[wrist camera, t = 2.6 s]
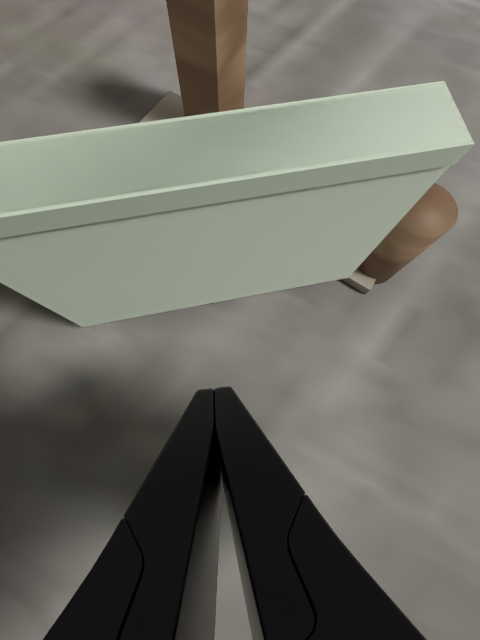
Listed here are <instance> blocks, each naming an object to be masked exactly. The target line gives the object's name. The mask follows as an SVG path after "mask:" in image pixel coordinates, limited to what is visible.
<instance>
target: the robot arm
mask: <svg viewBox="0 0 480 640" xmlns="http://www.w3.org/2000/svg"><path fill="white" fill-rule="evenodd" d="M221 472H222V473H221ZM222 479H223V486H224V492H225V497H226V502H227V507H228V513H229V518H230V523H231V528H232V533H233V539H234V544H235V549H236V554H237V560H238V565H239V570H240V575H241V581H242V586H243V591H244V596H245V602H246V607H247V612H248V617H249V622H250V628H251V633H252V638H253V640H426V638H425V637H424V636H423V635H422V634H421V633H420V632H419V630H418V629H417V628H416V627H415V626H414V625H413V624H412V622H411V621H410V620H409V619H408V618H407V617H406V616H405V614H404V613H403V612H402V611H401V610H400V609H399V608H398V606H397V605H396V604H395V603H394V602H393V601H392V600H391V598H390V597H389V596H388V595H387V594H386V593H385V592H384V590H383V589H382V588H381V587H380V586H379V585H378V584H377V582H376V581H375V580H374V579H373V578H372V577H371V576H370V574H369V573H368V572H367V571H366V570H365V569H364V568H363V566H362V565H361V564H360V563H359V562H358V561H357V559H356V558H355V557H354V556H353V555H352V553H351V552H350V551H349V550H348V549H347V547H346V546H345V545H344V544H343V543H342V541H341V540H340V539H339V538H338V536H337V535H336V534H335V532H334V531H333V530H332V528H331V527H330V526H329V524H328V523H327V522H326V520H325V519H324V518H323V516H322V515H321V514H320V512H319V511H318V510H317V508H316V507H315V505H314V504H313V502H312V501H311V500H310V498H309V497H308V496H307V495H305V491H304V490H303V489H302V487H301V486H300V484H299V483H298V481H297V480H296V479H295V477H294V476H293V474H292V473H291V471H290V470H289V469H288V467H287V466H286V464H285V463H284V461H283V460H282V459H281V457H280V456H279V454H278V453H277V451H276V450H275V449H274V447H273V446H272V444H271V443H270V442H269V440H268V439H267V437H266V436H265V434H264V433H263V432H262V430H261V429H260V427H259V426H258V424H257V423H256V422H255V420H254V419H253V417H252V416H251V414H250V413H249V412H248V410H247V409H246V407H245V406H244V404H243V403H242V402H241V400H240V399H239V397H238V396H237V394H236V393H235V392H234V390H233V389H232V388H231V387H219V388H216V389H215V390H213V389H212V388H210V389H201V390H198V391H197V392H196V393H195V395H194V396H193V398H192V400H191V402H190V403H189V405H188V407H187V408H186V410H185V412H184V414H183V415H182V417H181V419H180V420H179V422H178V424H177V426H176V427H175V429H174V431H173V432H172V434H171V436H170V438H169V439H168V441H167V443H166V444H165V446H164V448H163V449H162V451H161V453H160V455H159V456H158V458H157V460H156V461H155V463H154V465H153V467H152V468H151V470H150V472H149V473H148V475H147V477H146V479H145V480H144V482H143V484H142V485H141V487H140V489H139V491H138V492H137V494H136V496H135V497H134V499H133V501H132V503H131V504H130V506H129V508H128V509H127V511H126V513H125V515H124V518H125V519H122V520H121V521H120V523H119V524H118V526H117V528H116V530H115V531H114V533H113V535H112V537H111V538H110V540H109V542H108V543H107V545H106V546H105V548H104V550H103V551H102V553H101V554H100V556H99V558H98V559H97V561H96V563H95V564H94V566H93V567H92V569H91V571H90V572H89V574H88V575H87V577H86V578H85V580H84V581H83V582H82V584H81V585H80V587H79V588H78V590H77V591H76V593H75V594H74V596H73V597H72V599H71V600H70V602H69V603H68V604H67V606H66V607H65V609H64V610H63V612H62V613H61V614H60V616H59V617H58V619H57V620H56V622H55V623H54V624H53V626H52V627H51V629H50V630H49V631H48V633H47V634H46V636H45V637H44V639H43V640H214V634H215V614H216V594H217V573H218V553H219V532H220V512H221V492H222Z"/></svg>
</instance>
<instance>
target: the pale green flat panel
mask: <svg viewBox="0 0 480 640" xmlns="http://www.w3.org/2000/svg"><path fill="white" fill-rule="evenodd" d="M473 145H474V142H473V140H472V138H471V136H470V134H469V132H468V130H467V127H466V125H465V123H464V121H463V119H462V117H461V115H460V113H459V111H458V109H457V107H456V104H455V102H454V100H453V98H452V96H451V94H450V92H449V90H448V88H447V86H446V83H445V81H440V82H433V83H426V84H418V85H411V86H404V87H397V88H389V89H382V90H375V91H368V92H360V93H353V94H346V95H339V96H331V97H324V98H317V99H310V100H302V101H295V102H288V103H281V104H273V105H266V106H259V107H252V108H244V109H237V110H230V111H223V112H215V113H208V114H201V115H194V116H186V117H179V118H172V119H165V120H157V121H150V122H143V123H136V124H128V125H121V126H114V127H107V128H99V129H92V130H85V131H78V132H70V133H63V134H56V135H49V136H41V137H34V138H27V139H20V140H12V141H5V142H0V283H2V284H4V285H6V286H8V287H9V288H11V289H13V290H15V291H17V292H19V293H21V294H22V295H24V296H26V297H28V298H30V299H32V300H33V301H35V302H37V303H39V304H41V305H43V306H44V307H46V308H48V309H50V310H52V311H54V312H56V313H57V314H59V315H61V316H63V317H65V318H67V319H68V320H70V321H72V322H74V323H76V324H78V325H79V326H81V327H85V326H91V325H96V324H102V323H107V322H112V321H118V320H123V319H129V318H134V317H139V316H145V315H150V314H155V313H161V312H166V311H172V310H177V309H182V308H188V307H193V306H199V305H204V304H209V303H215V302H220V301H226V300H231V299H236V298H242V297H247V296H253V295H258V294H263V293H269V292H274V291H280V290H285V289H290V288H296V287H301V286H306V285H312V284H317V283H323V282H328V281H333V280H339V279H344V278H349V277H350V275H351V274H352V273H353V272H354V271H355V270H356V269H357V268H358V267H359V266H360V264H361V263H362V262H363V261H364V260H365V259H366V258H367V257H368V256H369V254H370V253H371V252H372V251H373V250H374V249H375V248H376V247H377V246H378V245H379V243H380V242H381V241H382V240H383V239H384V238H385V237H386V236H387V235H388V234H389V232H390V231H391V230H392V229H393V228H394V227H395V226H396V225H397V224H398V222H399V221H400V220H401V219H402V218H403V217H404V216H405V215H406V214H407V213H408V211H409V210H410V209H411V208H412V207H413V206H414V205H415V204H416V203H417V201H418V200H419V199H420V198H421V197H422V196H423V195H424V194H425V193H426V192H427V190H428V189H429V188H430V187H431V186H432V185H433V184H434V183H435V182H436V180H437V179H438V178H439V177H440V176H441V175H442V174H443V173H444V172H445V171H446V169H447V168H448V167H449V166H452V165H455V164H456V163H457V162H458V161H459V160H460V159H461V158H462V157H463V156H464V154H465V153H466V152H467V151H468V150H469V149H470V148H471V147H472V146H473Z"/></svg>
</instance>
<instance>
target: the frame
mask: <svg viewBox="0 0 480 640" xmlns="http://www.w3.org/2000/svg"><path fill="white" fill-rule="evenodd" d="M166 2H167V8H168V15H169V21H170V27H171V34H172V40H173V46H174V52H175V59H176V65H177V71H178V78H179V84H180V90H181V97H180V96H178V95H177V94H175V93H173V92H171V91H169V92H168V93H167V94H166V95H165V96H164V97H163V98H162V99H161V100H160V101H159V102H158V103H157V104H156V105H155V106H154V107H153V109H152V110H151V111H150V112H149V113H148V114H147V115H146V116H145V117H144V118H143V119H142V120H141V121H140V122H139V123H143V122H150V121H157V120H165V119H172V118H179V117H186V116H194V115H201V114H208V113H215V112H223V111H230V110H237V109H243V107H244V83H245V59H246V36H247V12H248V0H166ZM457 217H458V209H457V205H456V202H455V200H454V198H453V197H452V196H451V194H450V193H449V192H448V191H447V190H445V189H444V188H443V187H441V186H439V185H437V184H435V183H434V184H433V185H432V186H431V187H430V188H429V189H428V190H427V192H426V193H425V194H424V195H423V196H422V197H421V198H420V199H419V200H418V201H417V203H416V204H415V205H414V206H413V207H412V208H411V209H410V210H409V211H408V213H407V214H406V215H405V216H404V217H403V218H402V219H401V220H400V221H399V222H398V224H397V225H396V226H395V227H394V228H393V229H392V230H391V231H390V232H389V234H388V235H387V236H386V237H385V238H384V239H383V240H382V241H381V242H380V243H379V245H378V246H377V247H376V248H375V249H374V250H373V251H372V252H371V253H370V254H369V256H368V257H367V258H366V259H365V260H364V261H363V262H362V263H361V264H360V266H359V267H358V268H357V269H356V270H355V271H354V272H353V273H352V274H351V275H350V277H349V278H344V279H341V280H342V281H344V282H346V283H347V284H349V285H351V286H352V287H354V288H356V289H358V290H359V291H361V292H363V293H364V294H366V293H367V292H369V291H370V289H371V288H372V286H373V284H380V283H383V282H385V281H387V280H388V279H389V278H391V277H392V276H393V275H394V274H396V273H397V272H398V271H399V270H401V269H402V268H403V267H404V266H405V265H407V264H408V263H409V262H410V261H412V260H413V259H414V258H415V257H416V256H418V255H419V254H420V253H421V252H423V251H424V250H425V249H426V248H428V247H429V246H430V245H431V244H432V243H434V242H435V241H436V240H437V239H439V238H440V237H441V236H442V235H443V234H445V233H446V232H447V231H448V230H450V229H451V228H452V227H453V226H454V224H455V223H456V220H457Z"/></svg>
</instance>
